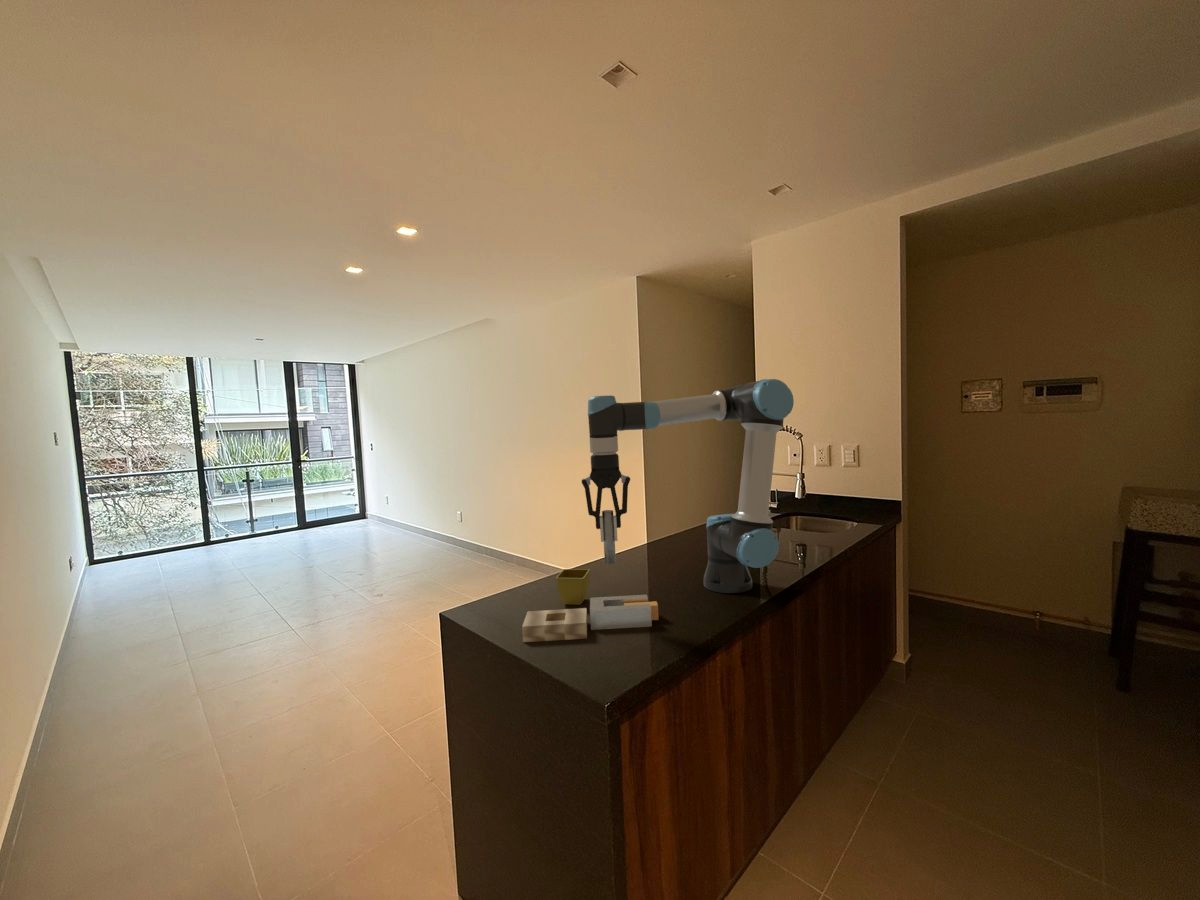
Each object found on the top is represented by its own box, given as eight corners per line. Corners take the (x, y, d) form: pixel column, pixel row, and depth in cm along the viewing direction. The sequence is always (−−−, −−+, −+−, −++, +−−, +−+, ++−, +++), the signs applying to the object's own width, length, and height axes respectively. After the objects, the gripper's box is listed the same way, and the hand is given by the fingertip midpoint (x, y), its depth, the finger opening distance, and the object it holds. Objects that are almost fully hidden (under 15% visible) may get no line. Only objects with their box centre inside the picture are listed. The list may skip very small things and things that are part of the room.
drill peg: (615, 560, 130) (612, 509, 130) (616, 563, 127) (613, 511, 127) (604, 561, 130) (601, 510, 130) (605, 564, 127) (602, 512, 127)
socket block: (647, 611, 135) (646, 594, 134) (651, 626, 125) (650, 607, 124) (591, 615, 134) (590, 597, 134) (590, 629, 124) (589, 611, 124)
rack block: (587, 622, 129) (586, 608, 129) (586, 638, 119) (586, 622, 119) (528, 625, 129) (527, 611, 129) (523, 642, 119) (522, 626, 119)
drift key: (657, 615, 131) (656, 601, 131) (658, 619, 128) (657, 605, 128) (624, 617, 131) (623, 603, 131) (625, 621, 128) (624, 607, 128)
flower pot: (585, 608, 140) (583, 577, 140) (556, 607, 142) (555, 577, 142) (591, 597, 149) (590, 569, 148) (564, 596, 150) (563, 568, 150)
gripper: (632, 451, 131) (637, 535, 132) (575, 454, 131) (579, 538, 132) (635, 452, 124) (640, 541, 125) (574, 456, 124) (579, 545, 125)
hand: (609, 540), depth 129 cm, fingers closed on drill peg, 3 cm apart
